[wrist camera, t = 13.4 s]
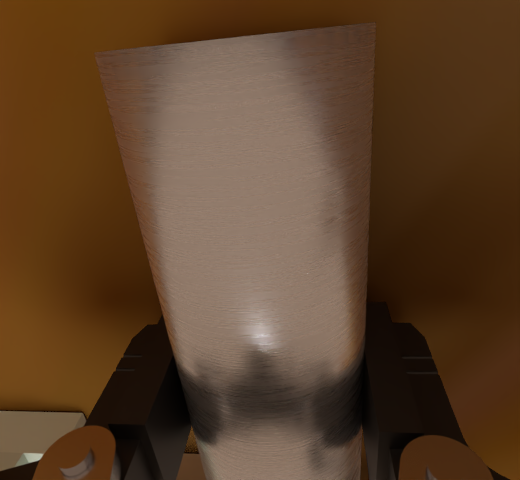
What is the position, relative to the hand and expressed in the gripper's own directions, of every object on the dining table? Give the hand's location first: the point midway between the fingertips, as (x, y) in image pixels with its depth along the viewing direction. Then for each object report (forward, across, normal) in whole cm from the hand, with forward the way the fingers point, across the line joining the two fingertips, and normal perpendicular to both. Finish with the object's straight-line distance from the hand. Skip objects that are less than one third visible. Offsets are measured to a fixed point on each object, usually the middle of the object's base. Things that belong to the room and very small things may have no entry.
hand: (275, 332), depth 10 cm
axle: (-1, 0, +1) cm, 2 cm away
